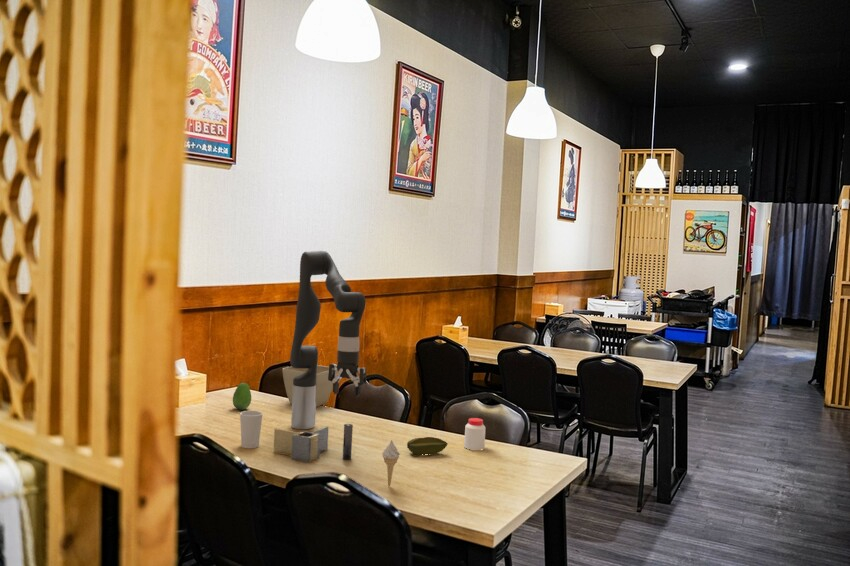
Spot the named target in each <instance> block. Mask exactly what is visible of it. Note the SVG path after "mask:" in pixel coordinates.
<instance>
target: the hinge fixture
mask: <svg viewBox="0 0 850 566" xmlns="http://www.w3.org/2000/svg"><path fill="white" fill-rule="evenodd" d="M328 442H329V426H328V425H327V426H323V427H321V428H318V429H316V430H314V431H306V430H302V431H300V432H298V431H297V432H296V431H291V430H286V429H282V428H277V427H276V428H274V432H273V453H277V454H282V455H286V456H290V457H291V460H293V461H294V460H295V461H298V462H303V463H304V462H305V463H310V462H312V461H314V460H316V459H319V458H320V453H322V452H325V451H326V450H328V448H329V447H328V446H329V443H328Z"/></svg>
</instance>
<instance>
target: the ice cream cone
mask: <svg viewBox="0 0 850 566" xmlns="http://www.w3.org/2000/svg"><path fill="white" fill-rule="evenodd" d="M400 454H401V453H400V452H399V451H398V448H397V447H396V445H395V444H394V442H393V440H392V439H391V440H390V442H389V444H388V445H387V446H386V448H385V449H384V450H383V451H382V453H381V455H382V458H383V462H384V463H385V464H386V468H387V469H386V471H387V486H388V487H389V486H390V487H391V483H392V477H393V472H394V467H395V465H396V464H397V463H398V461H399V458H400Z"/></svg>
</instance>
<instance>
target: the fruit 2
mask: <svg viewBox="0 0 850 566" xmlns="http://www.w3.org/2000/svg"><path fill="white" fill-rule="evenodd" d="M447 446H448V443H447V442H446V441H445V440H443V439H441V438H439V437H432V436H426V437H417V438H416V437H415V438H412V439H409V441H407V443H406V448H407V449H408V450H409V452H411V454H414V455H416V456H419V455H422V454H423V455H425V454H428V456H430V455H429V454H433V455H436V454H439V453H440V452H441V453H442V451H443V450H445V449H446V448H447Z"/></svg>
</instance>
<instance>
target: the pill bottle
mask: <svg viewBox="0 0 850 566" xmlns="http://www.w3.org/2000/svg"><path fill="white" fill-rule="evenodd" d="M464 428H465V429H464V442H463V444H464V445H463V448H464V447H465V448H467V449H472V450H481V449H484V450H485V446H486V445H485V444H486V442H485V441H486V426H485V425H484V419H482V418H478V417H470V418H468V422H467V424H465V427H464ZM465 448H464V449H465ZM467 449H466V450H467Z"/></svg>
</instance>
